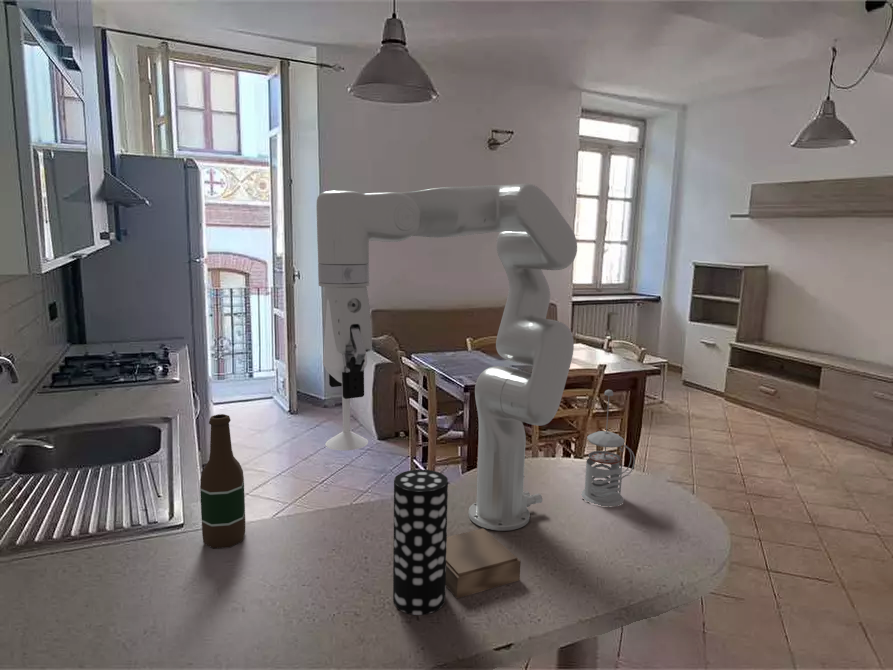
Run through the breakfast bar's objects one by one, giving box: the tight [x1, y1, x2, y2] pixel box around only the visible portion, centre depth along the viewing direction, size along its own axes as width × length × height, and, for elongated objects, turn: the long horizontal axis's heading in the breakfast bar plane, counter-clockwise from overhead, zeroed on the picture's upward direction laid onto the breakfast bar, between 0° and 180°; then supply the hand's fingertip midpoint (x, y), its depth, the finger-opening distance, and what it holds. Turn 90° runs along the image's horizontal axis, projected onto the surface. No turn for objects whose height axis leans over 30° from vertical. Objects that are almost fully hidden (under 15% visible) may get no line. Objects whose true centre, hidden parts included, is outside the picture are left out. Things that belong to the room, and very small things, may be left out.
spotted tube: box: [392, 469, 449, 616], centre depth 92 cm, size 8×8×20 cm
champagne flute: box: [322, 299, 369, 452], centre depth 90 cm, size 7×7×24 cm
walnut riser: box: [446, 527, 522, 599], centre depth 101 cm, size 12×12×4 cm
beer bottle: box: [199, 413, 246, 550], centre depth 108 cm, size 8×8×24 cm
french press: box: [581, 389, 636, 507], centre depth 130 cm, size 10×12×25 cm
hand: (346, 390), depth 91 cm, fingers closed on champagne flute, 6 cm apart
